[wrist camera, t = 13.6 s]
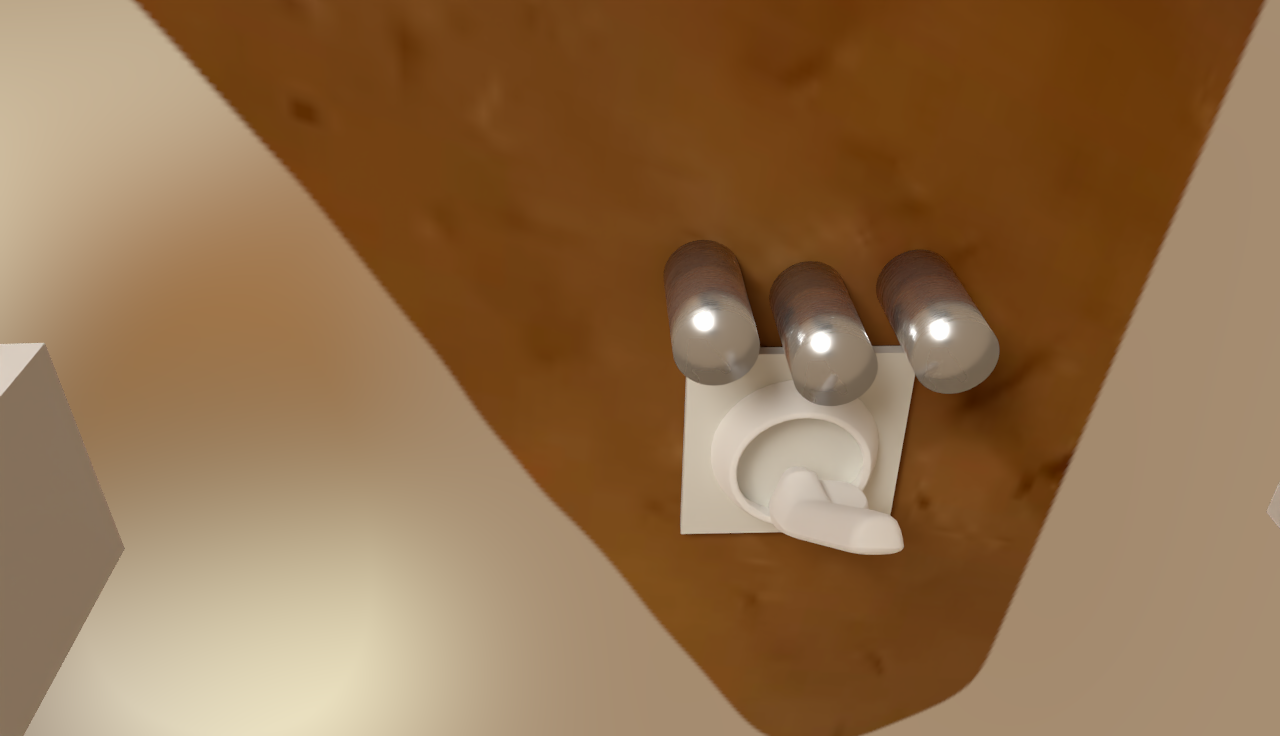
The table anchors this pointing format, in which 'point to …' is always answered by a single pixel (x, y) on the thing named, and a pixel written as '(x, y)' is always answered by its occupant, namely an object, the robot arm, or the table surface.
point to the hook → (807, 474)
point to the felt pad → (788, 444)
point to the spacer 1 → (709, 314)
